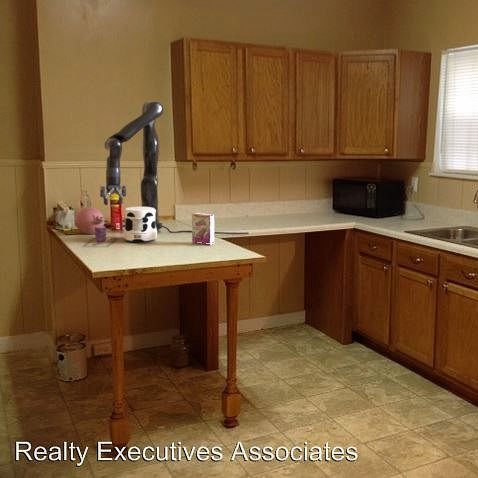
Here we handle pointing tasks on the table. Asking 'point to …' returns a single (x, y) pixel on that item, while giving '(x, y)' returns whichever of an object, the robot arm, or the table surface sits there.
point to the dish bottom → (100, 239)
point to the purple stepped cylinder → (100, 234)
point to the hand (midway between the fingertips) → (113, 204)
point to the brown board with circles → (99, 242)
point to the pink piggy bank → (89, 220)
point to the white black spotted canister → (140, 224)
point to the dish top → (100, 228)
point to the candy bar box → (202, 228)
